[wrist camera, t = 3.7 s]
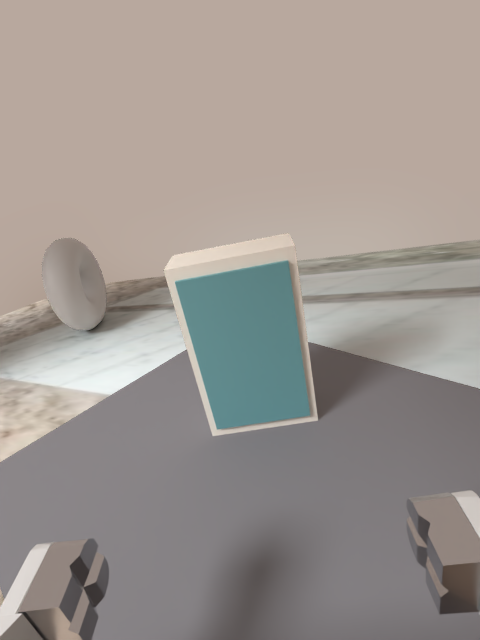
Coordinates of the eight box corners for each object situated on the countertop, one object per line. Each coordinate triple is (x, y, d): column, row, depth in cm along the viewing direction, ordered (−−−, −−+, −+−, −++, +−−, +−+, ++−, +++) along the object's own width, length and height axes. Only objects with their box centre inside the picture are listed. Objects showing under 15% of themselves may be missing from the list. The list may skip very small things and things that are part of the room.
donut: (96, 343, 37) (56, 247, 33) (63, 350, 37) (18, 255, 33) (118, 305, 46) (89, 226, 42) (92, 311, 46) (60, 232, 42)
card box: (212, 438, 21) (162, 271, 16) (215, 407, 23) (172, 255, 19) (318, 422, 20) (295, 246, 16) (310, 392, 23) (288, 232, 18)
